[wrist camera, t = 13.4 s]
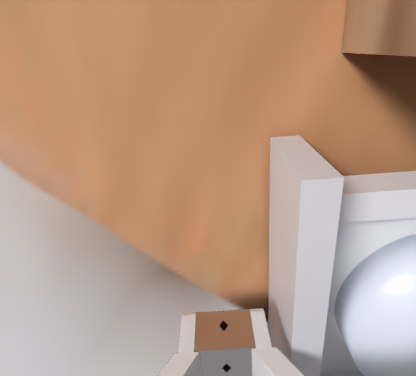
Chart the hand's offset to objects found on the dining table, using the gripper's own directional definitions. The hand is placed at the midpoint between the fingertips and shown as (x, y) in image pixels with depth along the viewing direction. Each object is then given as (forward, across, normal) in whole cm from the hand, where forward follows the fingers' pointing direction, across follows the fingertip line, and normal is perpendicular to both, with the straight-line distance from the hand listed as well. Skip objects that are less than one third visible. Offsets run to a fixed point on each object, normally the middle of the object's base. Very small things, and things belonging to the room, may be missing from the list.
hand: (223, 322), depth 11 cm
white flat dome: (+1, -8, 0) cm, 8 cm away
